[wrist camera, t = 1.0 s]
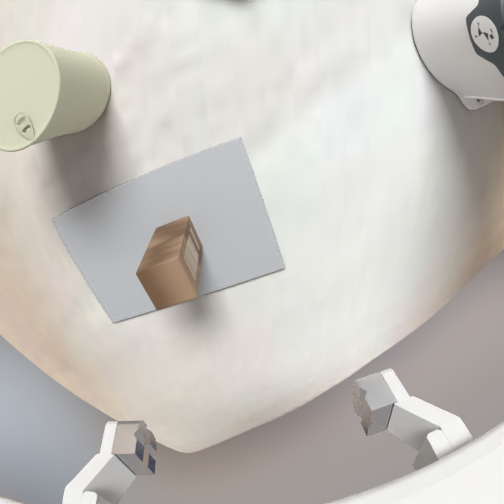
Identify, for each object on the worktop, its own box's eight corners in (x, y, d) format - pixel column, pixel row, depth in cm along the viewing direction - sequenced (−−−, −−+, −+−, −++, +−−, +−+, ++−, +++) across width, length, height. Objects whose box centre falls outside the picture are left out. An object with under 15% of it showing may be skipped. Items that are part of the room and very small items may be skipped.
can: (59, 149, 29) (-3, 175, 19) (28, 85, 25) (-39, 89, 15) (124, 104, 28) (76, 108, 18) (91, 36, 24) (35, 14, 14)
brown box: (189, 215, 34) (178, 258, 25) (203, 246, 36) (198, 297, 27) (156, 227, 34) (135, 273, 25) (170, 258, 36) (156, 310, 27)
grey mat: (240, 136, 31) (241, 137, 31) (284, 266, 38) (285, 267, 38) (53, 218, 33) (51, 219, 32) (113, 321, 40) (112, 323, 40)
